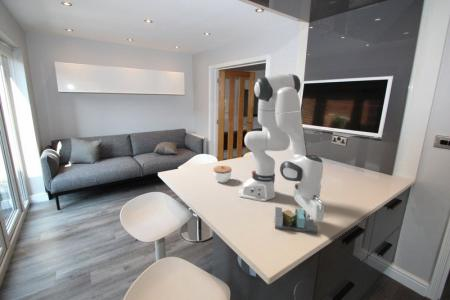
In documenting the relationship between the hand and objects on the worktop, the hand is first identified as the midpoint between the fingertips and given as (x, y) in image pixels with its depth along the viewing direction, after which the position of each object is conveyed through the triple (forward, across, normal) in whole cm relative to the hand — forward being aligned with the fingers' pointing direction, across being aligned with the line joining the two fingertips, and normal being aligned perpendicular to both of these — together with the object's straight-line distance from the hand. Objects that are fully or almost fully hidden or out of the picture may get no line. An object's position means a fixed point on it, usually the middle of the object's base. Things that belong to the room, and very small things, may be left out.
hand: (306, 218), depth 100 cm
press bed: (+4, +2, +5) cm, 6 cm away
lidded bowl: (+4, +59, +31) cm, 67 cm away
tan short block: (+3, +2, +7) cm, 8 cm away
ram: (+2, +1, +3) cm, 4 cm away
